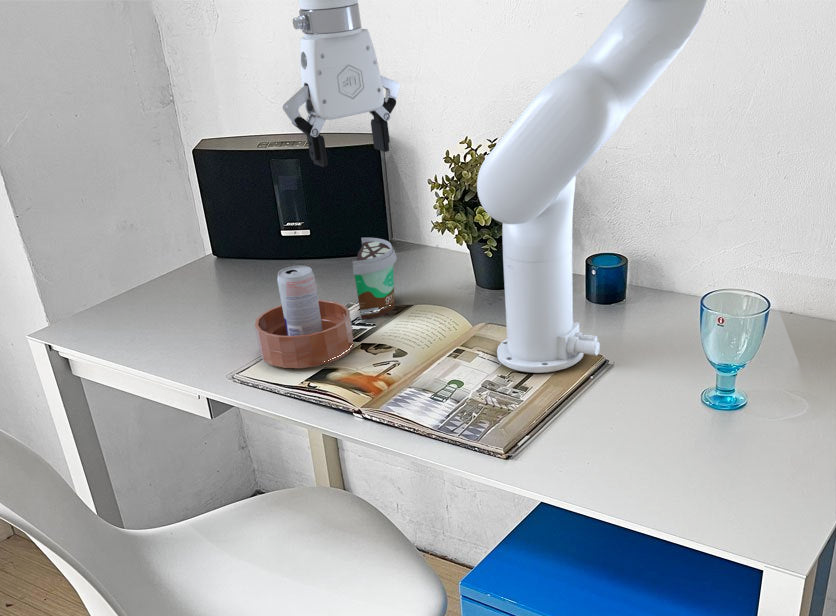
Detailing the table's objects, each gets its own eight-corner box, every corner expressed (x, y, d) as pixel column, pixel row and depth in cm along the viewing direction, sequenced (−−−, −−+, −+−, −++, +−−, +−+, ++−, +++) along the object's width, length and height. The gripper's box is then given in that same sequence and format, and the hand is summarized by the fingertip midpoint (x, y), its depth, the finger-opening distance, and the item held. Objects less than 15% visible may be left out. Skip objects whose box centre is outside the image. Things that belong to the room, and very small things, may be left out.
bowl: (365, 333, 154) (361, 300, 151) (338, 373, 142) (332, 338, 139) (281, 332, 156) (275, 299, 153) (247, 370, 145) (240, 335, 142)
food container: (398, 320, 157) (391, 260, 152) (360, 322, 157) (351, 262, 152) (405, 292, 167) (398, 234, 162) (369, 294, 168) (361, 236, 162)
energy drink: (313, 337, 152) (301, 262, 145) (332, 347, 148) (320, 271, 142) (283, 348, 149) (269, 272, 143) (301, 358, 146) (288, 281, 139)
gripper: (283, 34, 121) (308, 175, 130) (403, 13, 129) (418, 148, 138) (258, 30, 126) (284, 166, 135) (374, 11, 134) (391, 141, 143)
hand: (351, 157), depth 137 cm, fingers open, 9 cm apart
